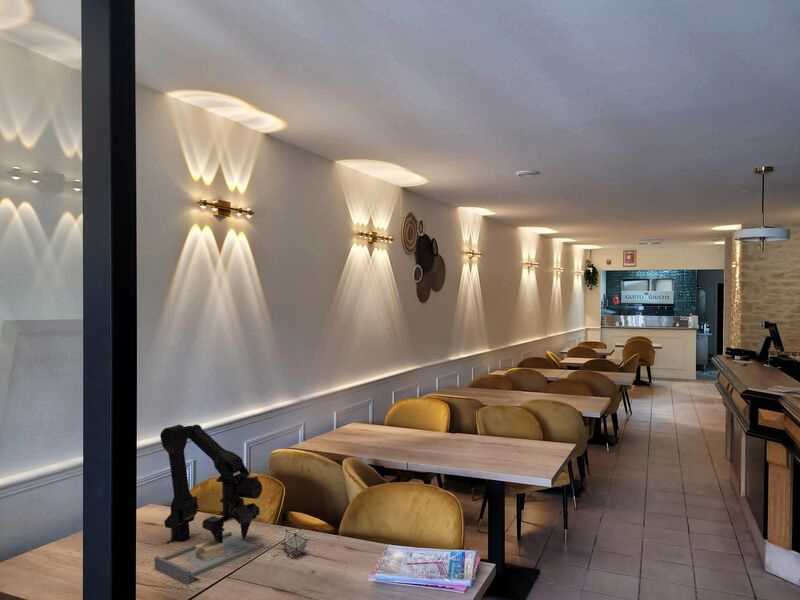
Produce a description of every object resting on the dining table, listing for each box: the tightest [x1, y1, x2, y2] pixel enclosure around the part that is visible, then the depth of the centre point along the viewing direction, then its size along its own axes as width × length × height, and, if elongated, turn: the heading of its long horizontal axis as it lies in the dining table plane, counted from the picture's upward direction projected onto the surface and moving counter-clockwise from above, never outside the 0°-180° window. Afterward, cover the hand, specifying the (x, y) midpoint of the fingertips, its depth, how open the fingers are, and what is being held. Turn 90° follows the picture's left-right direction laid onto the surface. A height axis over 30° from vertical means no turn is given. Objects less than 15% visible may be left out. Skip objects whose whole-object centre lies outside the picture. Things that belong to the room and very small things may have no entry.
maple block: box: [195, 539, 223, 562], centre depth 186 cm, size 6×6×4 cm
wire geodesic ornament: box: [280, 526, 309, 558], centre depth 190 cm, size 9×8×10 cm
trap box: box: [154, 531, 264, 585], centre depth 187 cm, size 18×28×4 cm, turn 142°
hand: (232, 543), depth 194 cm, fingers open, 9 cm apart
